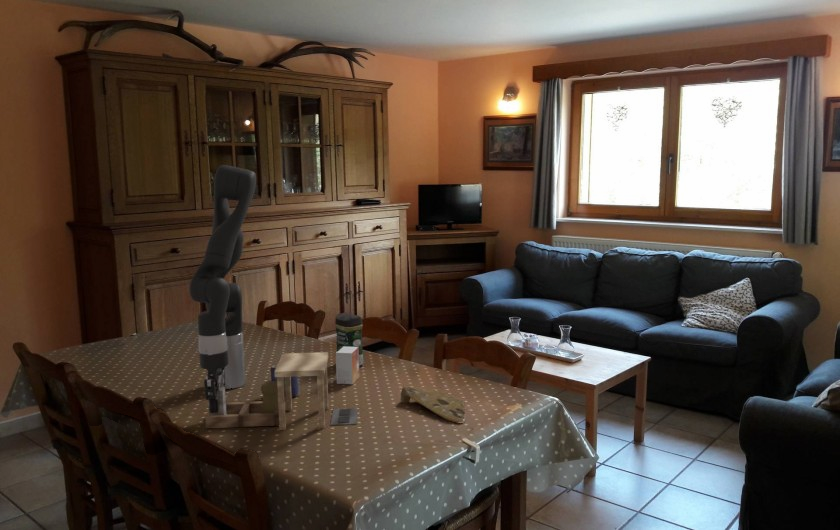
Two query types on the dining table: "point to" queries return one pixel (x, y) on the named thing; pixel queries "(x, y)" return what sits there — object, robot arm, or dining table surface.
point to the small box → (347, 365)
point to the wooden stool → (317, 367)
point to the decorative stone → (436, 403)
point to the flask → (293, 382)
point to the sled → (239, 414)
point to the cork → (270, 397)
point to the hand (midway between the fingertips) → (216, 407)
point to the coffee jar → (349, 332)
